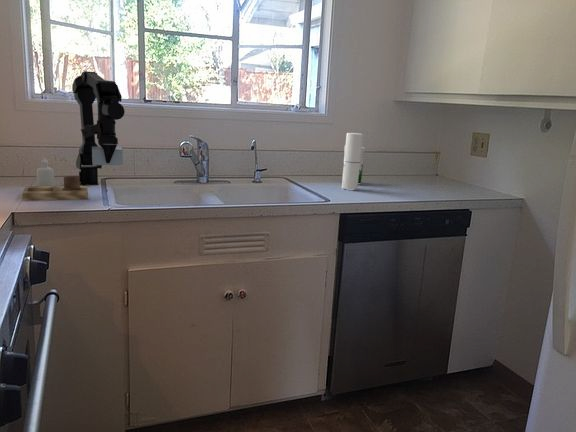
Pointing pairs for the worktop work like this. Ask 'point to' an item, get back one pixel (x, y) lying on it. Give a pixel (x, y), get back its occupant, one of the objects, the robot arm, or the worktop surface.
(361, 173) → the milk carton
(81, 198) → the socket board
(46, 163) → the eye dropper bottle
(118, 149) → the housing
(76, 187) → the walnut peg
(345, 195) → the worktop surface
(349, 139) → the cylindrical container
